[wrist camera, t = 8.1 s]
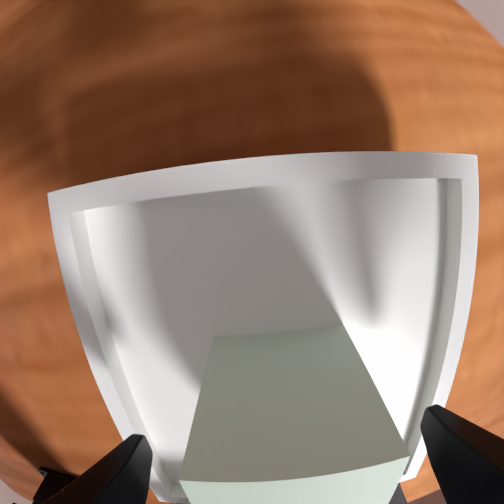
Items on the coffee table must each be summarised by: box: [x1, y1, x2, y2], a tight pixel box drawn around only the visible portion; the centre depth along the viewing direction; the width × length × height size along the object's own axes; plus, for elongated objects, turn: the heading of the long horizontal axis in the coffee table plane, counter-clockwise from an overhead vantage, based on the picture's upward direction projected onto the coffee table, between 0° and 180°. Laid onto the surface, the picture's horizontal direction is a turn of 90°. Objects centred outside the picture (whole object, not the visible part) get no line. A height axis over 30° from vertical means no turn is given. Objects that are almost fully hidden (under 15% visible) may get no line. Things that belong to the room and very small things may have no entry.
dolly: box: [47, 151, 479, 504], centre depth 11 cm, size 17×14×8 cm
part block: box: [179, 325, 410, 504], centre depth 8 cm, size 4×4×6 cm
